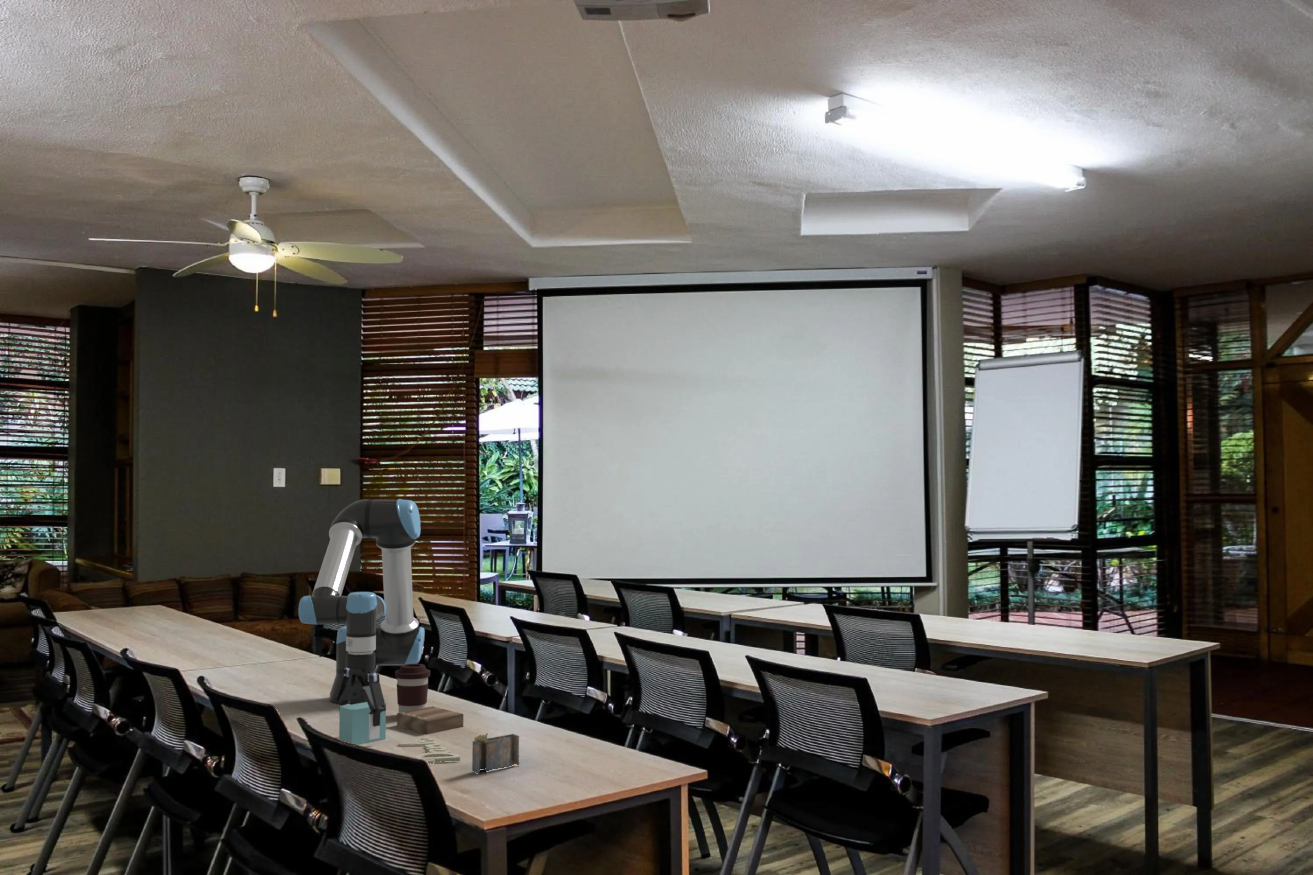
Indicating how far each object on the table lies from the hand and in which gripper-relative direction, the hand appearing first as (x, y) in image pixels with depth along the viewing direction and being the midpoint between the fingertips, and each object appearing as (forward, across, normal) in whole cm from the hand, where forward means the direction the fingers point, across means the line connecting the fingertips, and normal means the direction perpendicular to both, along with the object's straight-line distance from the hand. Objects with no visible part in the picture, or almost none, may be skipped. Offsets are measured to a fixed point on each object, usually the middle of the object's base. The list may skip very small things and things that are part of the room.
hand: (359, 734), depth 273 cm
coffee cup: (+2, -14, +26) cm, 30 cm away
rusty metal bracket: (+3, +45, +8) cm, 46 cm away
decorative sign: (+3, +21, +6) cm, 22 cm away
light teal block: (+2, 0, +1) cm, 2 cm away
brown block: (+2, 0, +22) cm, 23 cm away
